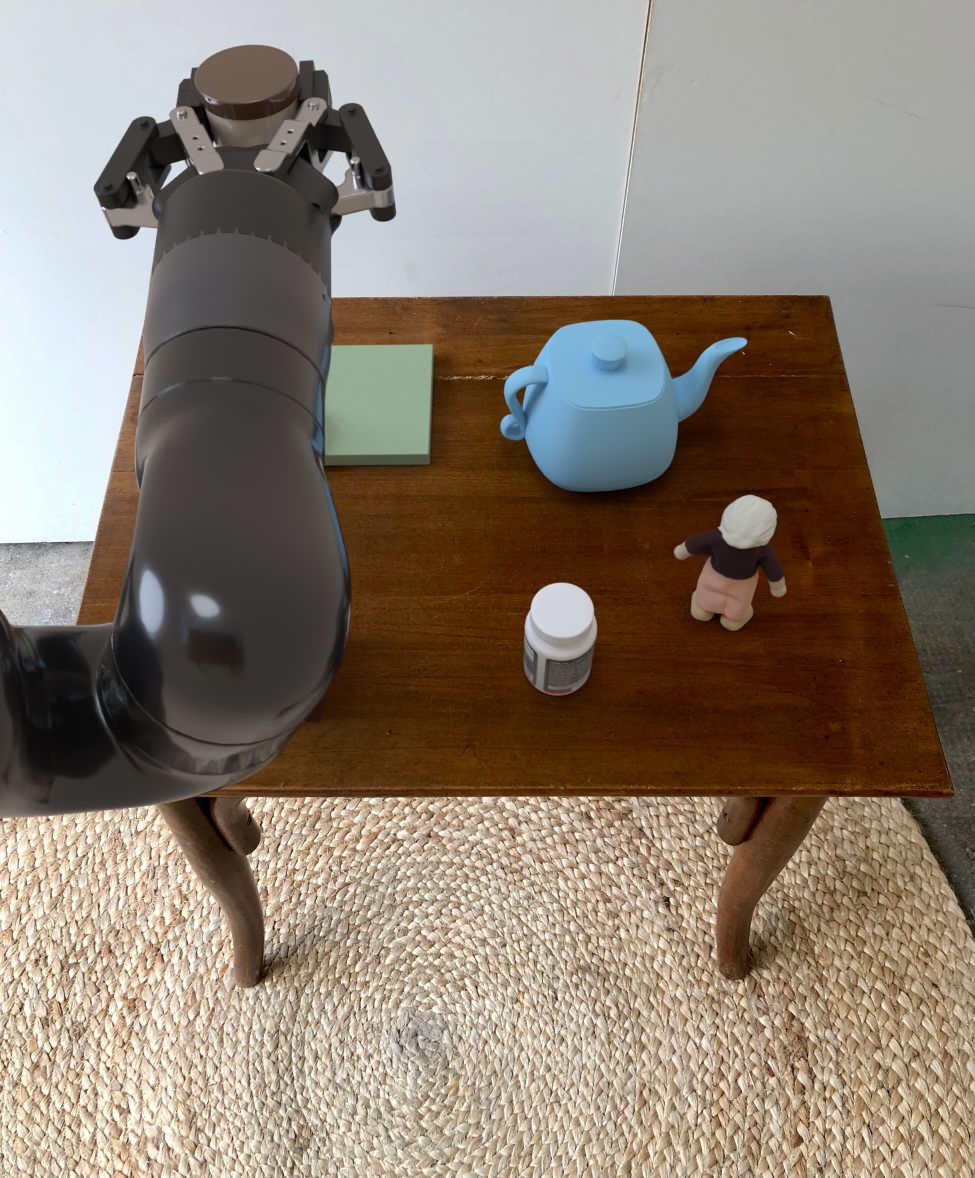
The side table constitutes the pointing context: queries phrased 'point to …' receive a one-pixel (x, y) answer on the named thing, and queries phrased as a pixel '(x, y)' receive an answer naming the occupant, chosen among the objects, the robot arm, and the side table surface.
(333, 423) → the scale
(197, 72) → the spice jar
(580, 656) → the pill bottle
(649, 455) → the teapot
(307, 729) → the side table surface
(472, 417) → the side table surface
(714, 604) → the grandmother figurine
